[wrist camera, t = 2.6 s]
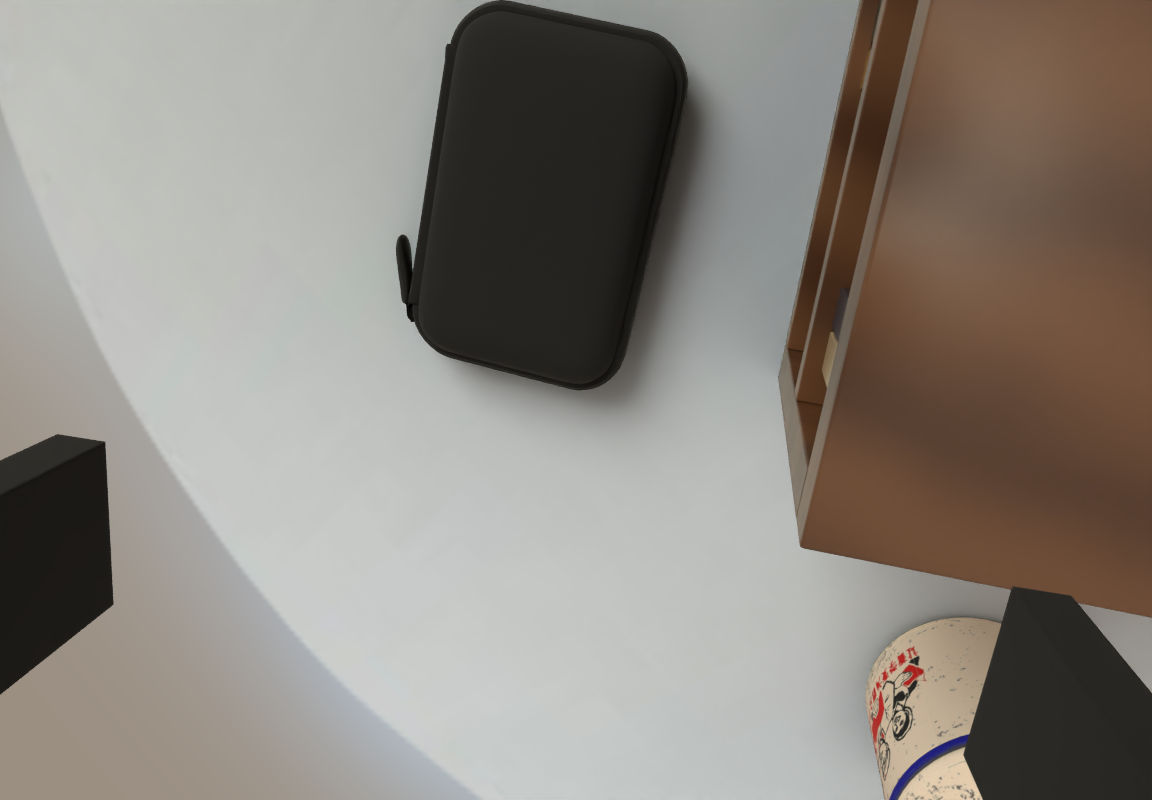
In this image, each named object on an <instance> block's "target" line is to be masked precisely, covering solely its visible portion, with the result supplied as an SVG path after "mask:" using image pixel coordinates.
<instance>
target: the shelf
mask: <svg viewBox="0 0 1152 800" xmlns="http://www.w3.org/2000/svg"><path fill="white" fill-rule="evenodd" d="M778 378H779V386H780V394H781V402H782V410H783V418H784V426H785V434H786V441H787V449H788V457H789V465H790V473H791V481H792V489H793V497H794V505H795V512H796V518H797V526H798V534H799V542H800V547H802V548H805V549H810V550H815V551H820V552H825V553H830V554H835V555H840V556H845V557H850V558H855V559H860V560H865V561H870V562H875V563H880V564H885V565H890V566H895V567H900V568H905V569H910V570H915V571H920V572H925V573H930V574H935V575H940V576H945V577H950V578H955V579H960V580H965V581H970V582H975V583H980V584H985V585H991V586H996V587H1001V588H1006V589H1011V590H1012V586H1015V587H1021V588H1027V589H1033V590H1040V591H1046V592H1052V593H1059V594H1065V595H1071V596H1072V597H1073V598H1074V600H1075V601H1076V602H1077V603H1081V604H1086V605H1091V606H1096V607H1101V608H1106V609H1111V610H1116V611H1121V612H1126V613H1131V614H1136V615H1141V616H1146V617H1151V618H1152V0H860V2H859V6H858V11H857V16H856V20H855V25H854V29H853V34H852V39H851V43H850V48H849V53H848V57H847V62H846V67H845V71H844V76H843V80H842V85H841V90H840V94H839V99H838V104H837V108H836V113H835V118H834V122H833V127H832V131H831V136H830V141H829V145H828V150H827V155H826V159H825V164H824V168H823V173H822V178H821V182H820V187H819V192H818V196H817V201H816V206H815V210H814V215H813V219H812V224H811V229H810V233H809V238H808V243H807V247H806V252H805V257H804V261H803V266H802V270H801V275H800V280H799V284H798V289H797V294H796V298H795V303H794V307H793V312H792V317H791V321H790V326H789V331H788V335H787V340H786V345H785V349H784V354H783V359H782V363H781V368H780V372H779V377H778Z"/></svg>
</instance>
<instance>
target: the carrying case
mask: <svg viewBox="0 0 1152 800" xmlns="http://www.w3.org/2000/svg"><path fill="white" fill-rule="evenodd" d="M687 88H688V78H687V72H686V68H685V65H684V62H683V60H682V58H681V56H680V54H679V53H678V51H677V50H676V48H675V47H674V46H673V45H672V44H671V43H670V42H669V41H668V40H667V39H665V38H664V37H662V36H661V35H659V34H657V33H654V32H651V31H648V30H643V29H638V28H634V27H629V26H624V25H620V24H615V23H610V22H606V21H601V20H596V19H592V18H587V17H582V16H578V15H573V14H568V13H564V12H559V11H554V10H550V9H545V8H540V7H536V6H531V5H526V4H522V3H517V2H512V1H506V0H498V1H492V2H488V3H485V4H483V5H481V6H479V7H477V8H475V9H474V10H472V11H471V12H470V13H469V14H468V15H466V16H465V17H464V19H463V20H462V21H461V22H460V24H459V25H458V27H457V28H456V30H455V32H454V35H453V37H452V40H451V44H447V46H446V52H445V64H444V70H443V77H442V84H441V90H440V97H439V103H438V110H437V117H436V123H435V130H434V136H433V143H432V149H431V156H430V163H429V169H428V176H427V182H426V189H425V195H424V202H423V209H422V215H421V222H420V228H419V235H418V242H417V248H416V255H415V261H414V268H413V269H412V256H411V247H410V243H409V240H408V238H407V237H406V236H405V235H401V236H399V237H398V240H397V245H396V256H397V265H398V273H399V281H400V288H401V297H402V302H403V303H405V304H406V307H407V316H408V318H409V319H410V320H411V322H415V324H416V327H417V329H418V331H419V333H420V334H421V336H422V337H423V339H424V340H425V341H426V342H427V343H428V344H429V345H430V346H431V347H432V348H433V349H434V350H436V351H437V352H439V353H440V354H442V355H444V356H447V357H449V358H453V359H457V360H461V361H465V362H469V363H472V364H476V365H480V366H484V367H488V368H492V369H495V370H499V371H503V372H507V373H511V374H515V375H518V376H522V377H526V378H530V379H534V380H538V381H541V382H545V383H549V384H553V385H557V386H561V387H564V388H568V389H573V390H588V389H593V388H596V387H599V386H601V385H602V384H604V383H606V382H607V381H609V380H610V379H611V378H612V377H613V376H614V375H615V374H616V373H617V371H618V370H619V369H620V367H621V364H622V362H623V360H624V357H625V354H626V350H627V346H628V342H629V338H630V334H631V330H632V326H633V322H634V317H635V313H636V309H637V305H638V300H639V296H640V292H641V288H642V283H643V279H644V275H645V271H646V266H647V262H648V258H649V253H650V249H651V245H652V241H653V236H654V232H655V228H656V224H657V220H658V216H659V211H660V207H661V203H662V199H663V195H664V191H665V187H666V182H667V178H668V174H669V170H670V166H671V162H672V158H673V153H674V149H675V145H676V141H677V137H678V133H679V129H680V124H681V120H682V116H683V111H684V107H685V102H686V98H687Z"/></svg>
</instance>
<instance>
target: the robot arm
mask: <svg viewBox="0 0 1152 800" xmlns="http://www.w3.org/2000/svg"><path fill="white" fill-rule="evenodd" d="M111 568H112V567H111V547H110V529H109V508H108V488H107V469H106V450H105V442H103V441H96V440H90V439H84V438H77V437H71V436H64V435H59V434H57V435H55V436H53V437H51V438H48V439H46V440H44V441H42V442H39V443H38V444H35V445H33V446H31V447H29V448H26V449H24V450H22V451H20V452H18V453H16V454H14V455H11V456H9V457H7V458H5V459H3V460H1V461H0V694H1V693H3V692H4V691H5V690H6V689H8V688H9V687H10V686H12V685H13V684H14V683H15V682H17V681H18V680H19V679H20V678H22V677H23V676H24V675H25V674H27V673H28V672H29V671H30V670H32V669H33V668H34V667H35V666H37V665H38V664H39V663H40V662H42V661H43V660H44V659H45V658H47V657H48V656H49V655H51V654H52V653H53V652H54V651H56V650H57V649H58V648H59V647H61V646H62V645H63V644H64V643H66V642H67V641H68V640H69V639H71V638H72V637H73V636H74V635H76V634H77V633H78V632H79V631H80V630H81V629H83V628H84V627H86V626H87V625H88V624H90V623H91V622H92V621H93V620H95V619H96V618H97V617H98V616H100V615H101V614H102V613H103V612H105V611H106V610H107V609H108V608H110V607H111V606H112V605H113V587H112V569H111ZM963 756H964V758H965V760H966V763H967V765H968V767H969V770H970V772H971V774H972V776H973V779H974V781H975V783H976V786H977V788H978V790H979V793H980V795H981V797H982V799H983V800H1152V693H1151V692H1150V690H1149V689H1148V688H1147V687H1146V686H1145V684H1144V683H1143V682H1142V681H1141V679H1140V678H1139V677H1138V676H1137V675H1136V673H1135V672H1134V671H1133V670H1132V669H1131V667H1130V666H1129V665H1128V664H1127V663H1126V661H1125V660H1124V659H1123V658H1122V656H1121V655H1120V654H1119V653H1118V652H1117V650H1116V649H1115V648H1114V647H1113V646H1112V644H1111V643H1110V642H1109V641H1108V640H1107V638H1106V637H1105V636H1104V635H1103V633H1102V632H1101V631H1100V630H1099V629H1098V627H1097V626H1096V625H1095V624H1094V623H1093V621H1092V620H1091V619H1090V618H1089V617H1088V615H1087V614H1086V613H1085V612H1084V610H1083V609H1082V608H1081V607H1080V606H1079V604H1078V603H1077V602H1076V601H1075V600H1074V598H1073V597H1072V596H1071V595H1065V594H1059V593H1052V592H1046V591H1040V590H1033V589H1027V588H1021V587H1015V586H1012V590H1011V593H1010V596H1009V600H1008V603H1007V607H1006V610H1005V613H1004V617H1003V620H1002V624H1001V627H1000V631H999V634H998V637H997V641H996V644H995V648H994V651H993V655H992V658H991V661H990V665H989V668H988V672H987V675H986V679H985V682H984V685H983V689H982V692H981V696H980V699H979V703H978V706H977V709H976V713H975V716H974V720H973V723H972V727H971V730H970V733H969V737H968V740H967V744H966V747H965V751H964V754H963Z"/></svg>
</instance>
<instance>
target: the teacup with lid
mask: <svg viewBox="0 0 1152 800" xmlns="http://www.w3.org/2000/svg"><path fill="white" fill-rule="evenodd" d="M1000 627H1001V623H997V622H994V621H990V620H985V619H979V618H963V617H959V618H947V619H941V620H936V621H932V622H929V623H926V624H922V625H920V626H918V627H915V628H913V629H911V630H909V631H907V632H906V633H904V634H902V635H901V636H899V637H898V638H897V639H895V640H894V641H893V642H892V643H891V644H890V645H889V646H888V647H886V648H885V650H884V651H883V652H882V653H881V654H880V656H879V657H878V659H877V660H876V662H875V664H874V666H873V667H872V669H871V672H870V675H869V677H868V681H867V686H866V709H867V714H868V719H869V723H870V728H871V733H872V738H873V743H874V748H875V753H876V758H877V763H878V768H879V772H880V777H881V782H882V787H883V792H884V797H885V800H983V799H982V797H981V795H980V793H979V790H978V788H977V786H976V783H975V781H974V779H973V776H972V774H971V772H970V770H969V767H968V765H967V763H966V760H965V758H964V756H963V754H964V751H965V747H966V744H967V740H968V737H969V733H970V730H971V727H972V723H973V720H974V716H975V713H976V709H977V706H978V703H979V699H980V696H981V692H982V689H983V685H984V682H985V679H986V675H987V672H988V668H989V665H990V661H991V658H992V655H993V651H994V648H995V644H996V641H997V637H998V634H999V631H1000Z"/></svg>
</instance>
